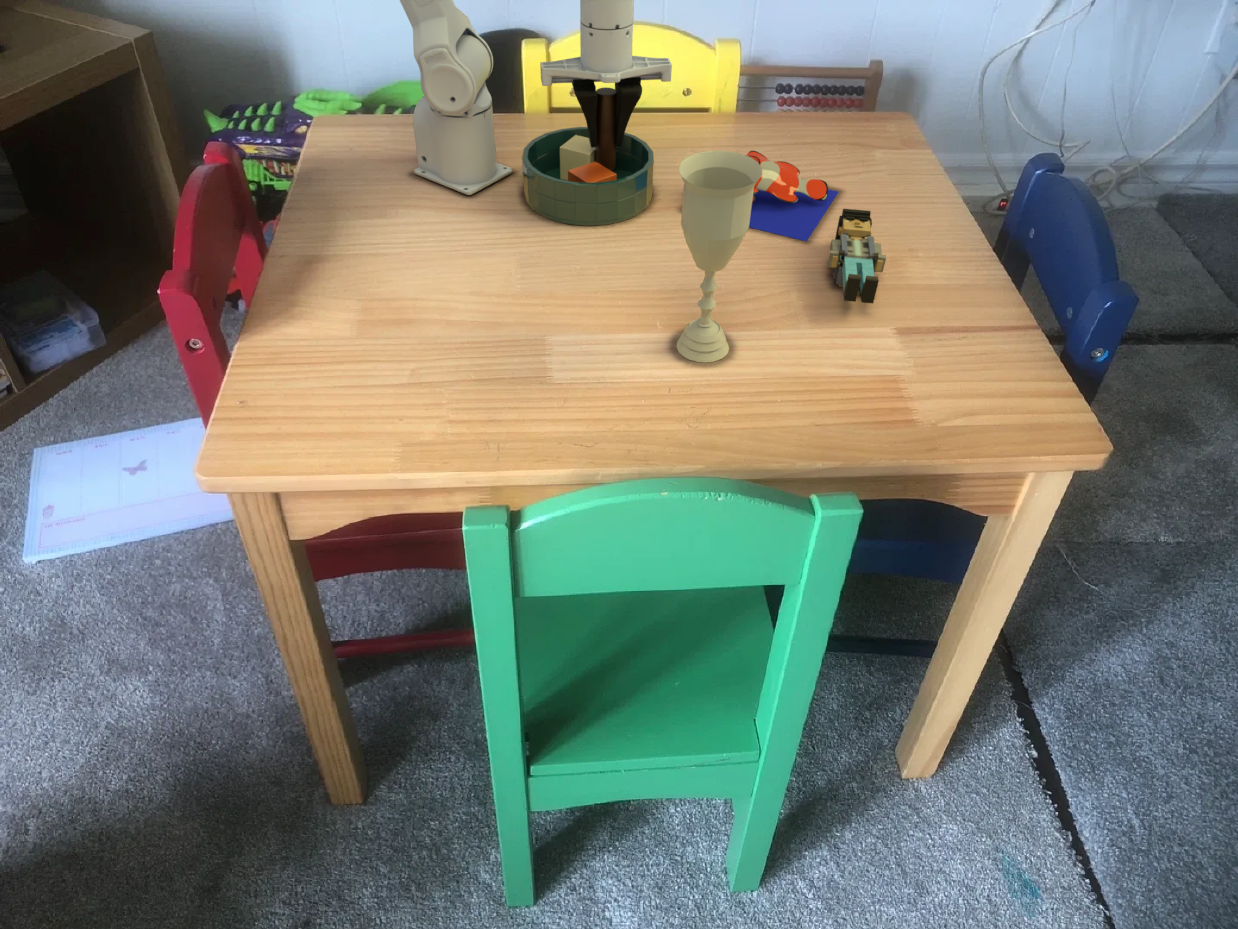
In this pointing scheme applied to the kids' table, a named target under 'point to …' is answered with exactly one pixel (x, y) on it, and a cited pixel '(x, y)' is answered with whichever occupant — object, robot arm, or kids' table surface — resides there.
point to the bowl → (587, 199)
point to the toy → (856, 256)
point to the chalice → (714, 234)
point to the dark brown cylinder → (606, 127)
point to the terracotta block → (591, 174)
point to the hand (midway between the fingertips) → (605, 143)
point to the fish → (787, 200)
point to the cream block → (575, 154)
